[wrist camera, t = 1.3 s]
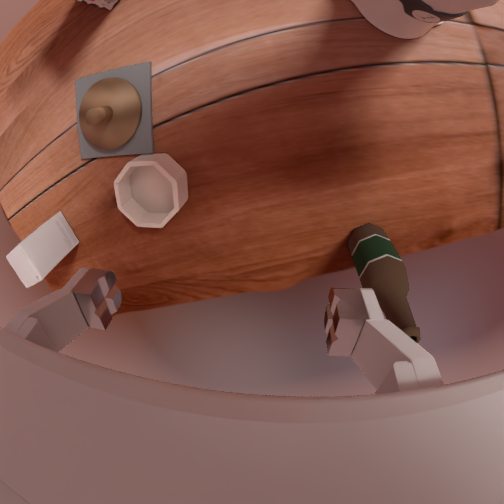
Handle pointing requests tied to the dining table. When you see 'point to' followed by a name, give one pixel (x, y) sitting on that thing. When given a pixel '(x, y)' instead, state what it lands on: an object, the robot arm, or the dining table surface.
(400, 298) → the beer bottle
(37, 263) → the supplement box
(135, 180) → the bowl
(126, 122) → the lid
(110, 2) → the candy bar box
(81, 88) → the mat
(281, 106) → the dining table surface
